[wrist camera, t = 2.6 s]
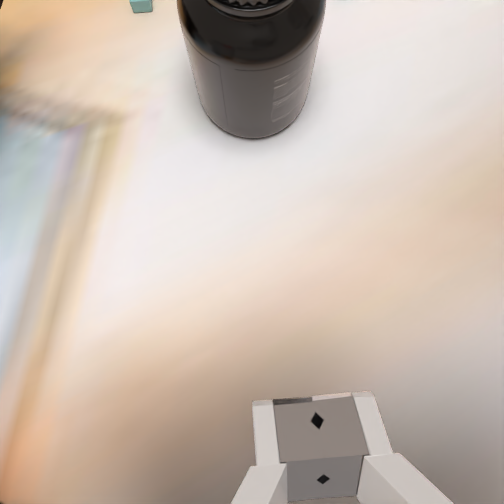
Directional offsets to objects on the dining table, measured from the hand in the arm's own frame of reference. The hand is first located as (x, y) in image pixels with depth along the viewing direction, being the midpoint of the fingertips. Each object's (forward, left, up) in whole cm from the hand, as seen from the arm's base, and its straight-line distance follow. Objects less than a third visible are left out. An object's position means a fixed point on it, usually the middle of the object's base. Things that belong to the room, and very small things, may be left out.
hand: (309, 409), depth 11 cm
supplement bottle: (-4, -16, -15) cm, 22 cm away
